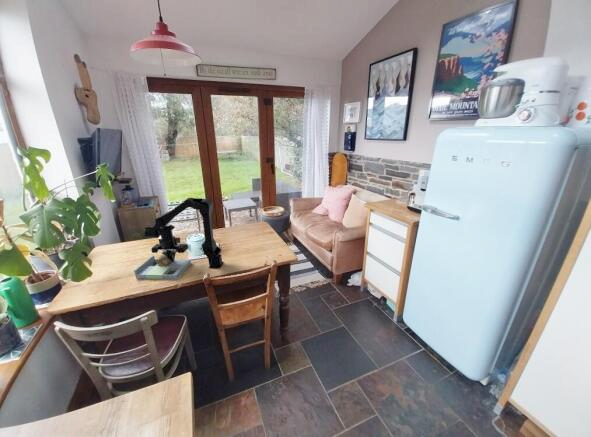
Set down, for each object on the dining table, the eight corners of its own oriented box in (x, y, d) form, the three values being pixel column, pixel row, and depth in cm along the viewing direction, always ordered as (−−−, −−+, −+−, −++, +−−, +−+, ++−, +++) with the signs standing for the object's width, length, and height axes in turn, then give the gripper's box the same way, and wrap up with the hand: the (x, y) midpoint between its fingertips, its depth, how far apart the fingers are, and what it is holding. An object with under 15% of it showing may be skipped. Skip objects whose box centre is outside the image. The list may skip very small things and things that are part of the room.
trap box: (191, 263, 143) (189, 256, 141) (176, 279, 128) (175, 271, 126) (154, 262, 145) (152, 255, 143) (136, 278, 130) (133, 270, 128)
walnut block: (173, 260, 142) (172, 254, 141) (167, 265, 136) (166, 259, 135) (163, 260, 142) (162, 254, 141) (157, 265, 137) (156, 259, 135)
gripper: (190, 230, 140) (195, 254, 146) (159, 231, 141) (165, 254, 147) (180, 239, 130) (186, 264, 135) (147, 239, 131) (154, 264, 137)
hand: (173, 261), depth 139 cm, fingers closed
